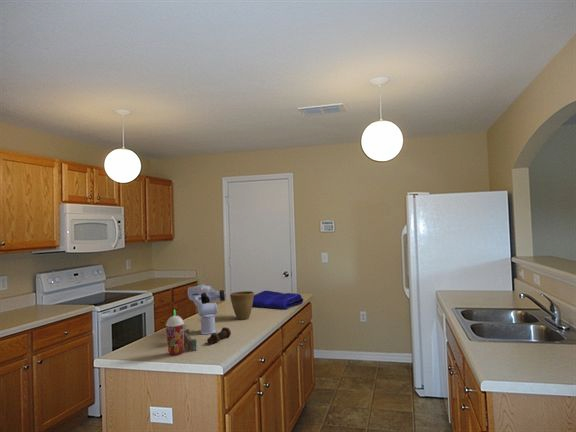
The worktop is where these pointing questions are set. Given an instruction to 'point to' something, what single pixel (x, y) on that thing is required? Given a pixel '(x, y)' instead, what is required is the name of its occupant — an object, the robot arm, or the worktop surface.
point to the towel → (276, 300)
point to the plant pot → (242, 304)
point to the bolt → (219, 335)
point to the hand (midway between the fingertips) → (216, 299)
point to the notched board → (189, 341)
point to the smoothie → (175, 335)
